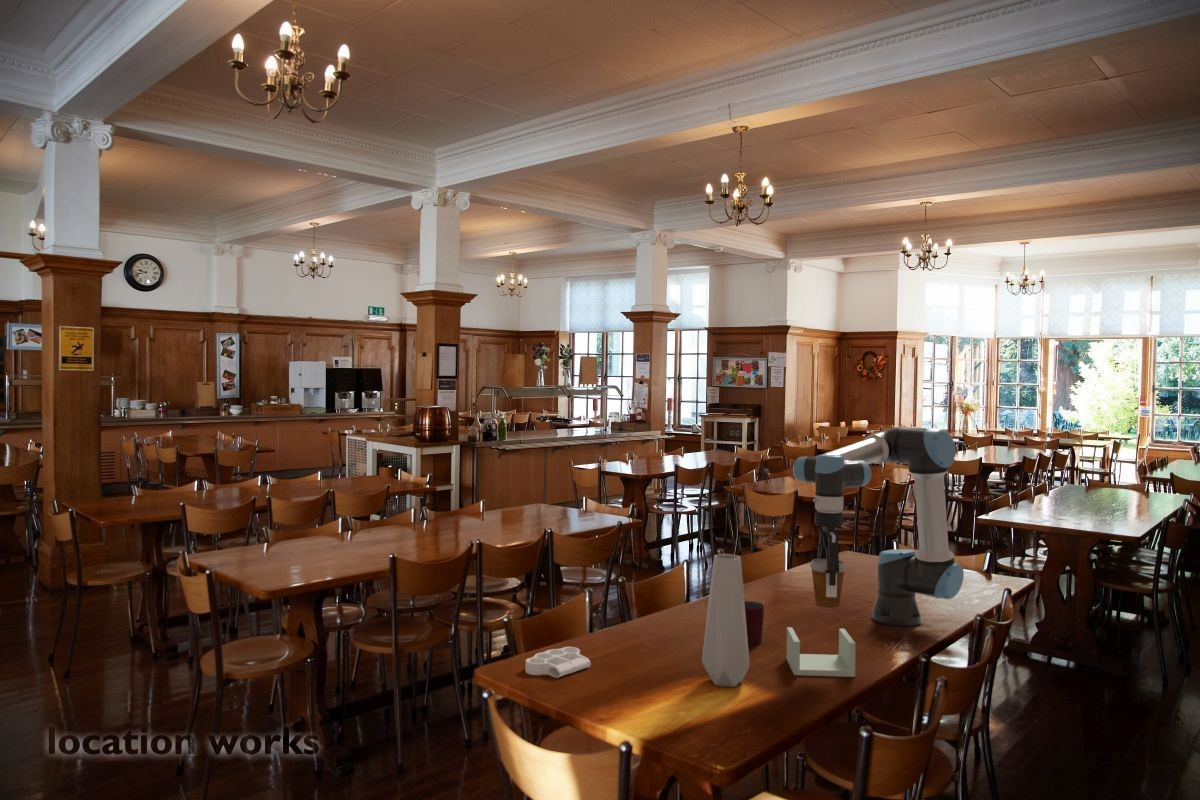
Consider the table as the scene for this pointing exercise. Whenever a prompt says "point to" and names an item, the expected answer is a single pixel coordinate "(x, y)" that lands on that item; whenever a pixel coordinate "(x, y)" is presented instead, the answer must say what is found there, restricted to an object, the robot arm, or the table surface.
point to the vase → (726, 624)
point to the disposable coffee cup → (820, 583)
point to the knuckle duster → (557, 662)
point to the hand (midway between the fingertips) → (827, 592)
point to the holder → (822, 658)
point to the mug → (754, 621)
